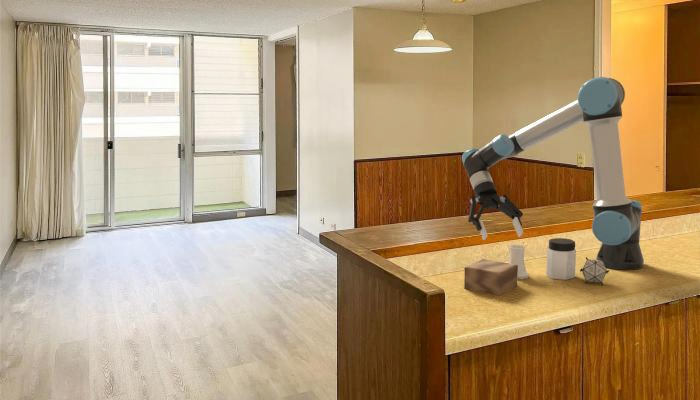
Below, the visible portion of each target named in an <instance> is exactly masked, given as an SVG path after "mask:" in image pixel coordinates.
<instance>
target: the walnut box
mask: <svg viewBox="0 0 700 400" xmlns="http://www.w3.org/2000/svg"><path fill="white" fill-rule="evenodd" d="M517 274H518V265H515V264H509V262H508V263H507V262H503V261H497V260H492V259H486V258H485V259H484V258H482V259H480V260H478V261H476V262H474V263H471V264H469V265H467V266H465V267H464V281H463V282H464V283H463V284H464V286H463V287H464V289H465V290H468V291H469V290H470V291H474V292H477V293H478V292H479V293H482V294H483V293H484V294H489V295H494V296H498V297H501V296H503V295H505V294H506V293H508V292H510V291H511V290H513V289H514V288H516V287H518V279H517Z"/></svg>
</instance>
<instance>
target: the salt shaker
mask: <svg viewBox="0 0 700 400" xmlns="http://www.w3.org/2000/svg"><path fill="white" fill-rule="evenodd" d="M525 248H526V247H525V246H524V245H520V244H512V245H510V246H509V251H510V252H509V262H508V263H509V264H515V265H518V274H517V280H524V279H525V280H526V279H527V278H529V273H528V271H527V268H526V263H525Z"/></svg>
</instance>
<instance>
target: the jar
mask: <svg viewBox="0 0 700 400" xmlns="http://www.w3.org/2000/svg"><path fill="white" fill-rule="evenodd" d="M576 259H577V250H576V241H575V240H573V239H570V238H562V237H556V238H555V237H554V238H550V239H548V247H547V249H546V272H545V274H546V275H547V276H548V277H549V278H550V279H552V280H553V279H554V280H561V281H567V280H572V279H574V278H576V261H577V260H576Z"/></svg>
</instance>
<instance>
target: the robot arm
mask: <svg viewBox="0 0 700 400" xmlns="http://www.w3.org/2000/svg"><path fill="white" fill-rule="evenodd" d="M625 91H626V90H625V88H624V86H623V85H622V83H621V82H620V81H619V80H617V79H615V78H610V77H606V76H599V77H598V76H597V77H594V78H591V79H589V80H587V81H586V82H585V83H583V84H582V86H581V87H580V89H579V90H578V93H577V99H576V100H574V101H572V102H570V103H568V104H567V105H565V106H563V107H561V108H560V109H557V110H555V111H554V112H552V113H549V114H548V115H546V116H544V117H542V118H540V119H539V120H537V121H535V122H533V123H530V124H529V125H527V126H525V127H523V128H521V129H520V130H518V131H516V132H514V133H512V134H510V135H509V136H508V135H507V134H505V133H500V134H499V135H497V136H495V137H494V138H492V140H491V141H489V142H487V144H485V145H484V146H483V147H481V148H480V149H478V148H476V147H475V148H470V149H469V150H468V149H467V150H466V151H464V152H463V154H462V156H461V161H462V163H463V164H462V165H463V168H464V169H465V171H466V175H467V177H468V179H469V182H470V184H471V186H472V190H473V192H474V193H473V194H474V195H475V196H472V197H470V200H469V204H470V207H469V213H468V219H467V222H468V223H472V224H473V225H474V226H475V227H476V230H477V232H478V231H479V233H480V235H482V236H481V238H482V240H483V241H485V240H486V239H487V237H488V233H487V230H486V226H485V225H484V222H483V220H482V219H480V218H481V217H482V214H483V212H484V210H485V209H486V210H490V209H491V210H497V211H500V212H501V213H503V214H504V215H506V216H508V217H509V218H510V219H511V220H512V221H511V223H512V224H513V227H514V230H515V232H516V234H517V236H518V238H520V237H522V236H523V234H524V230H523V228H522V226H523V223H522V221H521V218H523V215H524V213H523V211H521V210H520V209H519V208H518V207H517V206H516V205H515V204H514V203H513V202H512V200H511V199H509V197H508V195H507V194H505V193H504V194H503V195H502V196H499V194H498V192H497V188H496V185H495V183H494V181H493V178H492V176H491V173H490V172H489V168H491V167H493V166H494V165H495V164H497V163H499V161H502V160H505V159H508V158H514V157H516V156H518V155H519V154H520V153H522V152H524V151H526V150H528V149H530V148H532V147H534V146H536V145H538V144H540V143H542V142H545V141H546V140H548V139H550V138H552V137H554V136H556V135H558V134H560V133H562V132H564V131H566V130H568V129H570V128H572V127H574V126H575V125H578V124H580V123H582V122H583V124H584V125H587V126H588V128H589V137H590V146H591V155H592V162H593V163H592V165H593V171H594V172H593V173H594V183H595V191H596V192H595V193H596V200H595V201H594V202H593V203H592V209H593V217H594V218H593V219H592V223H591V229H592V234H593V236H594V237H595V238H596V239H597V240H598V241H599V242H601V245H600V247H599V250H598V252H597V254H596V259H595V260H602V259H603V258H604V260H603V263H604V265H605V267H606V268H609V269H614V270H622V271H623V270H625V271H626V270H627V271H628V270H629V271H630V270H639V269H642V268H644V263H645V261H644V255H643V253H642V249H641V245H640V239H641V238H640V237H641V236H640V235H641V219H642V212H643V207H642V202H641V201H639V200H634V199H630V198H628V196H626V188H625V178H624V168H623V160H622V159H623V158H622V150H621V139H620V132H619V131H620V130H619V122H620V120H621V119H622V118H623V111H622V104H623V103H624V101H625V99H626V98H625V97H626V92H625ZM477 203H478V204H479V205H480V208H479V209H478V212H477V214H476V213H475V212H476V207H477ZM475 214H476V216H475Z"/></svg>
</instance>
